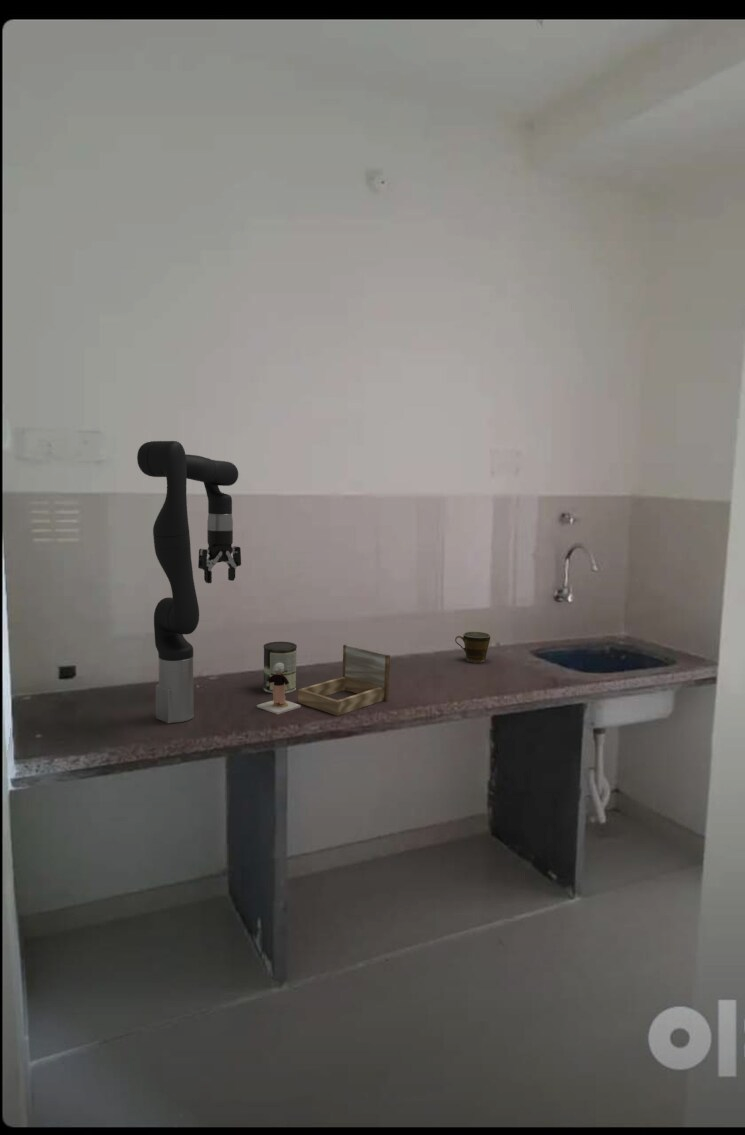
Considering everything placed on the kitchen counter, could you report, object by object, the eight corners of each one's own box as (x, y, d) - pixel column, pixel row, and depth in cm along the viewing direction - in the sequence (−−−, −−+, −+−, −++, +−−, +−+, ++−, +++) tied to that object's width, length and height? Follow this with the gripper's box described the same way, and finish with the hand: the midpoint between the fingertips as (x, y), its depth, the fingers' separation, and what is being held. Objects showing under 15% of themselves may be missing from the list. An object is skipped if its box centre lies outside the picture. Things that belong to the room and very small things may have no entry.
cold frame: (340, 716, 208) (341, 668, 206) (295, 701, 219) (296, 656, 218) (388, 700, 224) (390, 655, 222) (344, 687, 235) (345, 644, 234)
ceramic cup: (486, 657, 278) (487, 631, 276) (491, 664, 268) (493, 637, 266) (451, 657, 277) (453, 631, 275) (456, 664, 267) (457, 637, 266)
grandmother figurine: (292, 704, 215) (293, 661, 214) (289, 708, 212) (290, 665, 210) (267, 702, 217) (267, 660, 215) (263, 706, 213) (264, 663, 211)
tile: (277, 714, 208) (277, 712, 208) (256, 707, 214) (256, 705, 214) (300, 707, 215) (300, 705, 215) (280, 700, 221) (280, 698, 220)
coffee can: (256, 690, 230) (256, 646, 228) (277, 682, 239) (277, 639, 237) (282, 696, 225) (283, 651, 223) (302, 687, 233) (303, 644, 232)
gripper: (208, 530, 214) (208, 585, 217) (246, 528, 225) (246, 580, 227) (192, 528, 219) (193, 582, 221) (231, 526, 230) (231, 578, 232)
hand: (220, 581), depth 224 cm, fingers open, 8 cm apart
